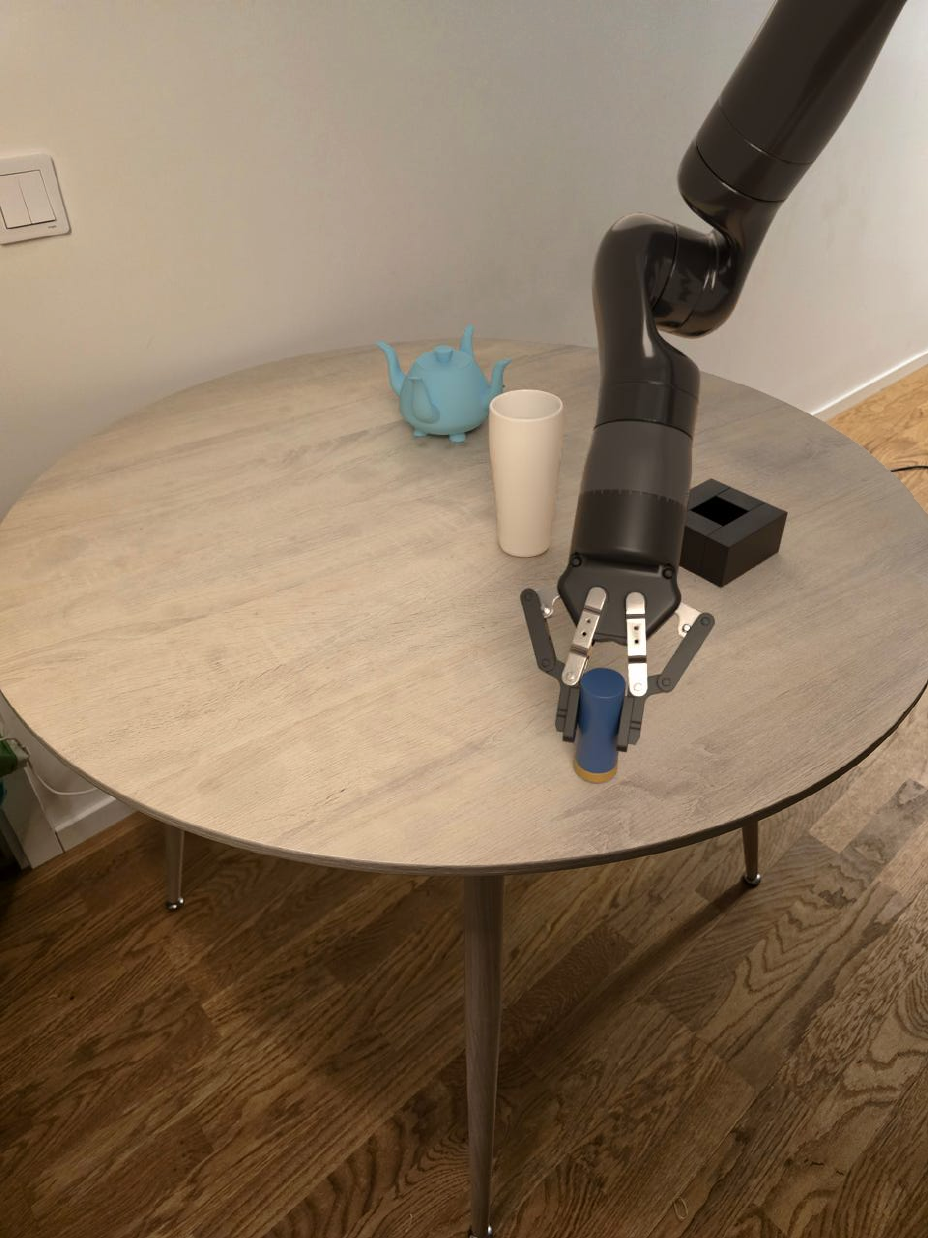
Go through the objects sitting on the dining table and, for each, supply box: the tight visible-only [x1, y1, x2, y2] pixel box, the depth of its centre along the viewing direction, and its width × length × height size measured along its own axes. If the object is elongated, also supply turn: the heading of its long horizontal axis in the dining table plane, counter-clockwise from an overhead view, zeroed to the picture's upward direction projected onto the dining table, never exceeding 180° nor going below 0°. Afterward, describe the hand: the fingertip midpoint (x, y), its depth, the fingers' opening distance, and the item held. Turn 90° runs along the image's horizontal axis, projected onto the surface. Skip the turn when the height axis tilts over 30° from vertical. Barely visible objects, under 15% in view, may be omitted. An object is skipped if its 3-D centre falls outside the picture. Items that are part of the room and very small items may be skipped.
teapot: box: [375, 324, 514, 443], centre depth 104 cm, size 13×13×10 cm
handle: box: [573, 667, 627, 784], centre depth 60 cm, size 3×3×8 cm
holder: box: [679, 478, 789, 589], centre depth 83 cm, size 9×9×4 cm
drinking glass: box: [488, 389, 565, 558], centre depth 81 cm, size 7×7×15 cm
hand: (595, 745), depth 59 cm, fingers closed on handle, 3 cm apart
